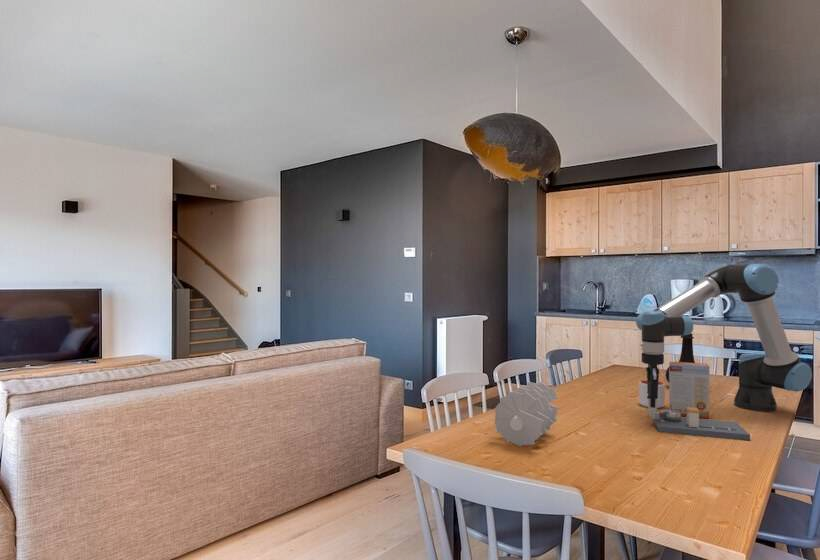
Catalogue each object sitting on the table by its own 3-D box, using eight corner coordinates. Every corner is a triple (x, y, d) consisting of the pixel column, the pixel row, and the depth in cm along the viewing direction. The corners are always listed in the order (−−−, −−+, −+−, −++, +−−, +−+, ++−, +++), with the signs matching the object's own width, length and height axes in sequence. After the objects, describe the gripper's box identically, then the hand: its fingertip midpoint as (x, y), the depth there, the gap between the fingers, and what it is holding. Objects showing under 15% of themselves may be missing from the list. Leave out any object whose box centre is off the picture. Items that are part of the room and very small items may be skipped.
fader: (696, 424, 180) (696, 407, 180) (699, 427, 176) (699, 410, 176) (686, 423, 181) (686, 407, 181) (688, 426, 177) (689, 409, 177)
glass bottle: (660, 384, 258) (660, 330, 258) (697, 386, 256) (697, 331, 256) (673, 392, 240) (674, 334, 240) (713, 394, 238) (714, 335, 238)
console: (735, 427, 184) (735, 421, 184) (750, 440, 169) (750, 434, 169) (652, 420, 193) (652, 414, 193) (658, 431, 178) (658, 426, 178)
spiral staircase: (503, 458, 162) (525, 433, 183) (552, 443, 153) (570, 419, 175) (479, 405, 165) (504, 387, 186) (527, 387, 156) (547, 371, 178)
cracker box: (707, 415, 200) (708, 363, 200) (709, 419, 195) (710, 365, 195) (668, 411, 206) (669, 360, 206) (669, 414, 201) (669, 362, 201)
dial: (673, 416, 190) (673, 408, 190) (684, 421, 184) (684, 413, 184) (647, 418, 188) (647, 410, 188) (658, 422, 182) (658, 414, 182)
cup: (662, 410, 208) (662, 386, 208) (636, 406, 214) (636, 383, 214) (666, 405, 216) (666, 382, 216) (641, 401, 222) (642, 379, 222)
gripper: (639, 349, 194) (639, 409, 194) (643, 355, 181) (643, 419, 182) (661, 350, 191) (660, 411, 192) (666, 356, 179) (666, 421, 180)
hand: (652, 415), depth 187 cm, fingers closed
